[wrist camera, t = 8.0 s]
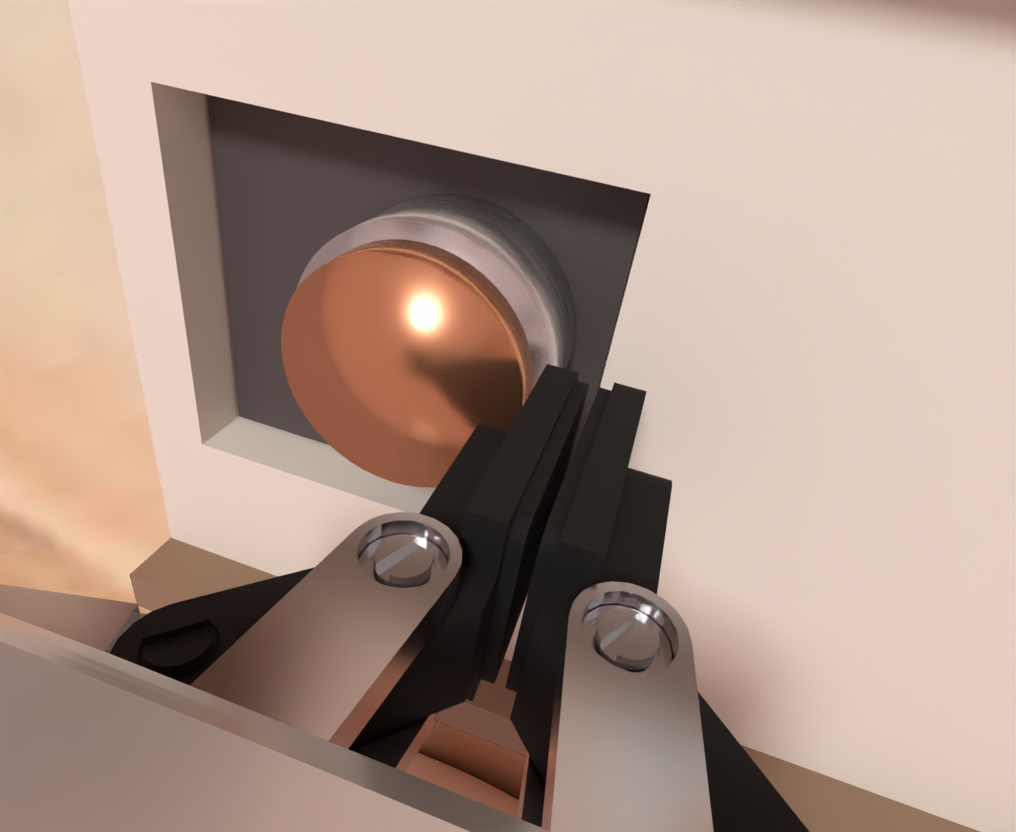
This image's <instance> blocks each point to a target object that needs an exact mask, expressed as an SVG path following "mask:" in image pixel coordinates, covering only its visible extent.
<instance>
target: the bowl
mask: <svg viewBox="0 0 1016 832" xmlns="http://www.w3.org/2000/svg"><path fill="white" fill-rule="evenodd" d="M405 773H408V774H410V775H413V776H415V777H418V778H420V779H423V780H425V781H428V782H430V783H433V784H435V785H437V786H440V787H442V788H445V789H447V790H450V791H452V792H455V793H457V794H460V795H462V796H465V797H467V798H469V799H472V800H474V801H477V802H479V803H482V804H484V805H487V806H489V807H492V808H494V809H496V810H499V811H501V812H504V813H506V814H509V815H511V816H514V817H516V818H517V815H518V807H519V800H518V799H516V798H514V797H512V796H510V795H509V794H507V793H505V792H503V791H501V790H499V789H497V788H495V787H493V786H492V785H490V784H488V783H486V782H484V781H482V780H480V779H478V778H476V777H473V776H471V775H469V774H467V773H465V772H463V771H461V770H459V769H456V768H454V767H452V766H449V765H447V764H445V763H442V762H440V761H438V760H435V759H433V758H430V757H428V756H425V755H423V754H420V753H417V755H416V756H415V758H414V759H413V761H412V762H411V764H410V766H409V767H408V769H407V770H406V772H405Z"/></svg>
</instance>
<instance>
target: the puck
mask: <svg viewBox="0 0 1016 832" xmlns="http://www.w3.org/2000/svg"><path fill="white" fill-rule="evenodd" d="M575 338H576V311H575V304H574V298H573V295H572V292H571V288H570V285H569V282H568V280H567V277H566V275H565V273H564V270H563V268H562V266H561V265H560V263H559V261H558V260H557V258H556V256H555V254H554V253H553V252H552V250H551V249H550V248H549V246H548V245H547V244H546V242H545V241H544V240H543V239H542V238H541V237H540V236H539V235H538V234H537V233H536V232H535V231H534V230H533V229H532V228H531V227H530V226H529V225H528V224H527V223H525V222H524V221H523V220H522V219H520V218H519V217H518V216H516V215H515V214H513V213H511V212H510V211H508V210H506V209H505V208H503V207H501V206H499V205H497V204H494V203H492V202H490V201H487V200H485V199H481V198H478V197H474V196H471V195H465V194H458V193H433V194H427V195H421V196H418V197H415V198H412V199H409V200H406V201H404V202H402V203H400V204H398V205H396V206H394V207H392V208H390V209H388V210H386V211H384V212H382V213H380V214H378V215H376V216H374V217H372V218H370V219H368V220H367V221H365V222H363V223H361V224H359V225H357V226H355V227H353V228H351V229H349V230H347V231H345V232H343V233H341V234H339V235H337V236H336V237H334V238H333V239H331V240H330V241H329V242H327V243H326V244H325V245H324V246H323V247H322V248H321V249H320V250H319V251H318V252H317V253H316V254H315V255H314V256H313V257H312V259H311V260H310V262H309V263H308V265H307V266H306V268H305V269H304V272H303V274H302V276H301V278H300V280H299V282H298V286H297V289H296V291H295V293H294V294H293V296H292V298H291V300H290V302H289V304H288V306H287V309H286V312H285V316H284V319H283V324H282V332H281V352H282V360H283V366H284V370H285V373H286V377H287V381H288V383H289V386H290V388H291V391H292V394H293V395H294V397H295V399H296V401H297V403H298V405H299V407H300V409H301V410H302V412H303V413H304V415H305V417H306V418H307V420H308V421H309V422H310V424H311V425H312V426H313V427H314V429H315V430H316V431H317V433H318V434H319V435H320V436H321V437H322V438H323V439H324V440H325V441H326V442H327V443H328V444H329V445H330V446H331V447H332V448H334V449H335V450H336V451H337V452H338V453H339V454H341V455H342V456H343V457H345V458H346V459H347V460H349V461H350V462H352V463H353V464H355V465H356V466H358V467H360V468H361V469H363V470H365V471H367V472H369V473H371V474H373V475H375V476H377V477H380V478H383V479H385V480H388V481H391V482H394V483H398V484H403V485H407V486H414V487H429V488H435V487H437V486H438V484H439V483H440V481H441V480H442V478H443V477H444V475H445V474H446V472H447V471H448V469H449V467H450V466H451V464H452V463H453V461H454V460H455V458H456V457H457V455H458V454H459V452H460V451H461V449H462V448H463V446H464V445H465V443H466V442H467V440H468V439H469V437H470V436H471V434H472V433H473V431H474V430H475V428H476V427H477V426H478V425H479V424H485V425H488V426H491V427H495V428H498V429H501V430H505V431H508V432H509V430H510V428H511V426H512V424H513V423H514V421H515V419H516V417H517V416H518V414H519V412H520V410H521V409H522V407H523V405H524V403H525V402H526V400H527V398H528V396H529V395H530V393H531V391H532V389H533V388H534V386H535V384H536V382H537V381H538V379H539V377H540V375H541V374H542V372H543V370H544V368H545V367H546V365H547V364H550V365H553V366H557V367H561V368H564V369H567V367H568V365H569V363H570V360H571V357H572V353H573V350H574V346H575Z"/></svg>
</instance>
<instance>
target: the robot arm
mask: <svg viewBox="0 0 1016 832" xmlns="http://www.w3.org/2000/svg"><path fill="white" fill-rule="evenodd" d="M578 379H579V372H575V371H571V370H568V369H564V368H561V367H557V366H553V365H550V364H547V365H546V367H545V368H544V370H543V372H542V374H541V375H540V377H539V379H538V381H537V382H536V384H535V386H534V388H533V389H532V391H531V393H530V395H529V396H528V398H527V400H526V402H525V403H524V405H523V407H522V409H521V410H520V412H519V414H518V416H517V417H516V419H515V421H514V423H513V424H512V426H511V428H510V430H509V432H508V431H505V430H501V429H498V428H495V427H491V426H488V425H485V424H479V425H478V426H477V427H476V428H475V430H474V431H473V433H472V434H471V436H470V437H469V439H468V440H467V442H466V443H465V445H464V446H463V448H462V449H461V451H460V452H459V454H458V455H457V457H456V458H455V460H454V461H453V463H452V464H451V466H450V467H449V469H448V471H447V472H446V474H445V475H444V477H443V478H442V480H441V481H440V483H439V484H438V486H437V487H436V489H435V490H434V492H433V493H432V495H431V496H430V498H429V499H428V501H427V502H426V504H425V505H424V507H423V508H422V510H421V512H420V513H408V512H397V513H388V514H383V515H380V516H377V517H375V518H372V519H369V520H368V521H366V522H365V523H363V524H362V525H360V526H359V527H357V528H356V529H355V530H354V531H353V532H352V533H351V534H350V535H349V536H347V537H346V538H345V539H344V540H343V541H342V542H341V543H340V544H339V545H338V546H337V547H336V548H335V549H334V550H333V551H332V552H331V553H329V554H328V555H327V556H326V557H325V558H324V559H323V560H322V561H321V562H320V563H319V564H318V565H317V566H316V567H314V568H310V569H306V570H302V571H298V572H294V573H290V574H286V575H282V576H278V577H274V578H270V579H266V580H263V581H259V582H255V583H251V584H247V585H243V586H239V587H235V588H231V589H227V590H223V591H219V592H215V593H211V594H208V595H204V596H200V597H196V598H192V599H188V600H184V601H180V602H176V603H173V604H170V605H167V606H165V607H162V608H159V609H156V610H154V611H152V612H150V613H149V614H143V613H140V612H139V608H138V604H135V603H128V602H121V601H114V600H107V599H100V598H92V597H85V596H78V595H71V594H64V593H57V592H50V591H43V590H36V589H29V588H22V587H15V586H8V585H1V584H0V832H809V830H808V829H807V828H806V827H805V825H804V824H803V823H802V822H801V820H800V819H799V818H798V817H797V815H796V814H795V813H794V811H793V810H792V809H791V808H790V806H789V805H788V804H787V803H786V801H785V800H784V799H783V798H782V796H781V795H780V794H779V793H778V791H777V790H776V789H775V788H774V786H773V785H772V784H771V783H770V781H769V780H768V779H767V777H766V776H765V775H764V774H763V772H762V771H761V770H760V769H759V767H758V766H757V765H756V764H755V762H754V761H753V760H752V759H751V757H750V756H749V755H748V754H747V752H746V751H745V750H744V749H743V747H742V746H741V745H740V743H739V742H738V741H737V740H736V738H735V737H734V736H733V735H732V733H731V732H730V731H729V730H728V728H727V727H726V726H725V725H724V723H723V722H722V721H721V720H720V718H719V717H718V716H717V715H716V713H715V712H714V711H713V709H712V708H711V707H710V706H709V704H708V703H707V702H706V701H705V699H704V698H703V697H702V696H701V694H700V693H699V692H698V690H697V681H696V673H695V664H694V655H693V646H692V641H691V637H690V634H689V631H688V627H687V626H686V624H685V622H684V621H683V619H682V618H681V616H680V615H679V613H678V612H677V611H676V610H675V609H674V608H673V607H672V606H671V605H670V604H669V603H668V602H667V601H666V600H665V599H663V598H662V597H660V596H658V595H657V591H658V584H659V577H660V569H661V562H662V555H663V548H664V541H665V534H666V526H667V519H668V512H669V505H670V498H671V490H672V480H668V479H665V478H662V477H658V476H655V475H652V474H648V473H645V472H642V471H638V470H635V469H632V468H628V465H629V461H630V457H631V453H632V449H633V445H634V441H635V437H636V433H637V429H638V425H639V421H640V417H641V413H642V409H643V405H644V401H645V397H646V392H647V391H644V390H640V389H636V388H633V387H629V386H626V385H622V384H618V383H615V382H614V385H613V388H612V391H611V390H608V389H604V388H600V387H599V389H598V391H597V394H596V397H595V399H594V402H593V404H592V407H591V410H590V412H589V415H588V417H587V420H586V423H585V425H584V428H583V430H582V433H581V436H580V438H579V441H578V443H577V446H576V449H575V451H574V454H573V456H572V453H573V449H574V445H575V441H576V437H577V433H578V429H579V425H580V421H581V417H582V413H583V409H584V405H585V401H586V397H587V393H588V389H589V384H586V383H582V382H579V381H578ZM571 457H572V459H571ZM570 461H571V462H570ZM526 598H527V599H526ZM525 600H526V604H525V608H524V612H523V616H522V620H521V624H520V628H519V632H518V637H517V641H516V645H515V649H514V653H513V657H512V661H511V666H510V670H509V674H508V678H507V682H506V687H505V688H506V689H508V690H511V691H514V692H516V697H515V701H514V705H513V709H512V713H511V716H510V720H511V722H512V724H513V725H514V727H515V729H516V731H517V733H518V735H519V737H520V739H521V740H522V742H523V744H524V746H525V748H526V750H527V752H528V753H527V756H526V759H525V763H524V768H523V776H522V784H521V792H520V799H519V807H518V815H517V818H516V817H514V816H511V815H509V814H506V813H504V812H501V811H499V810H496V809H494V808H492V807H489V806H487V805H484V804H482V803H479V802H477V801H474V800H472V799H469V798H467V797H465V796H462V795H460V794H457V793H455V792H452V791H450V790H447V789H445V788H442V787H440V786H437V785H435V784H433V783H430V782H428V781H425V780H423V779H420V778H418V777H415V776H413V775H410V774H408V773H405V772H406V770H407V769H408V767H409V766H410V764H411V762H412V761H413V759H414V758H415V756H416V755H417V753H418V751H419V750H420V748H421V747H422V745H423V743H424V742H425V740H426V739H427V737H428V735H429V734H430V732H431V731H432V729H433V727H434V725H435V722H436V720H437V718H438V715H439V712H440V711H442V710H445V709H448V708H450V707H453V706H455V705H458V704H460V703H463V702H465V700H466V699H467V700H470V701H473V699H474V697H475V694H476V692H477V689H478V687H479V684H480V682H481V680H484V681H487V682H489V683H492V684H494V683H495V681H496V678H497V676H498V673H499V671H500V668H501V665H502V662H503V660H504V657H505V654H506V652H507V649H508V646H509V644H510V641H511V638H512V635H513V633H514V630H515V627H516V625H517V622H518V619H519V617H520V614H521V611H522V608H523V606H524V603H525Z"/></svg>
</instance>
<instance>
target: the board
mask: <svg viewBox="0 0 1016 832" xmlns="http://www.w3.org/2000/svg"><path fill="white" fill-rule="evenodd" d="M68 5H69V11H70V16H71V21H72V26H73V31H74V37H75V42H76V47H77V52H78V57H79V62H80V68H81V73H82V78H83V83H84V88H85V94H86V99H87V104H88V109H89V114H90V120H91V125H92V130H93V135H94V140H95V145H96V151H97V156H98V161H99V166H100V171H101V177H102V182H103V187H104V192H105V197H106V203H107V208H108V213H109V218H110V223H111V228H112V234H113V239H114V244H115V249H116V254H117V260H118V265H119V270H120V275H121V280H122V286H123V291H124V296H125V301H126V306H127V312H128V317H129V322H130V327H131V332H132V337H133V343H134V348H135V353H136V358H137V363H138V369H139V374H140V379H141V384H142V389H143V395H144V400H145V405H146V410H147V415H148V420H149V426H150V431H151V436H152V441H153V446H154V452H155V457H156V462H157V467H158V472H159V478H160V483H161V488H162V493H163V498H164V503H165V509H166V514H167V519H168V524H169V529H170V535H171V538H170V539H169V540H168V541H167V542H166V543H165V544H163V545H162V546H161V547H160V548H159V549H158V550H157V551H156V552H154V553H153V554H152V555H151V556H150V557H149V558H148V559H147V560H146V561H144V562H143V563H142V564H141V565H140V566H139V567H138V568H137V569H135V570H134V571H133V572H132V573H131V574H130V578H131V582H132V586H133V590H134V594H135V598H136V602H137V604H138V606H141V607H143V608H146V609H148V610H151V611H154V610H156V609H159V608H162V607H165V606H167V605H170V604H173V603H176V602H180V601H184V600H188V599H192V598H196V597H200V596H204V595H208V594H211V593H215V592H219V591H223V590H227V589H231V588H235V587H239V586H243V585H247V584H251V583H255V582H259V581H263V580H266V579H270V578H274V577H278V576H282V575H286V574H290V573H294V572H298V571H302V570H306V569H310V568H314V567H316V566H317V565H318V564H319V563H320V562H321V561H322V560H323V559H324V558H325V557H326V556H327V555H328V554H329V553H331V552H332V551H333V550H334V549H335V548H336V547H337V546H338V545H339V544H340V543H341V542H342V541H343V540H344V539H345V538H346V537H347V536H349V535H350V534H351V533H352V532H353V531H354V530H355V529H356V528H357V527H359V526H360V525H362V524H363V523H365V522H366V521H368V520H369V519H372V518H375V517H377V516H380V515H383V514H388V513H397V512H408V513H420V512H421V510H422V508H423V507H424V505H425V504H426V502H427V501H428V499H429V498H430V496H431V495H432V493H433V492H434V490H435V489H436V487H435V488H429V487H414V486H407V485H403V484H398V483H394V482H391V481H388V480H385V479H383V478H380V477H377V476H375V475H373V474H371V473H369V472H367V471H365V470H363V469H361V468H360V467H358V466H356V465H355V464H353V463H352V462H350V461H349V460H347V459H346V458H345V457H343V456H342V455H341V454H339V453H338V452H337V451H336V450H335V449H334V448H332V447H331V446H330V445H329V444H328V443H327V442H326V441H325V440H324V439H323V438H322V437H321V436H320V435H319V434H318V433H317V431H316V430H315V429H314V427H313V426H312V425H311V424H310V422H309V421H308V420H307V418H306V417H305V415H304V413H303V412H302V410H301V409H300V407H299V405H298V403H297V401H296V399H295V397H294V395H293V394H292V391H291V388H290V386H289V383H288V381H287V377H286V373H285V370H284V366H283V360H282V352H281V332H282V324H283V319H284V316H285V312H286V309H287V306H288V304H289V302H290V300H291V298H292V296H293V294H294V293H295V291H296V289H297V286H298V282H299V280H300V278H301V276H302V274H303V272H304V269H305V268H306V266H307V265H308V263H309V262H310V260H311V259H312V257H313V256H314V255H315V254H316V253H317V252H318V251H319V250H320V249H321V248H322V247H323V246H324V245H325V244H326V243H327V242H329V241H330V240H331V239H333V238H334V237H336V236H337V235H339V234H341V233H343V232H345V231H347V230H349V229H351V228H353V227H355V226H357V225H359V224H361V223H363V222H365V221H367V220H368V219H370V218H372V217H374V216H376V215H378V214H380V213H382V212H384V211H386V210H388V209H390V208H392V207H394V206H396V205H398V204H400V203H402V202H404V201H406V200H409V199H412V198H415V197H418V196H421V195H427V194H433V193H458V194H465V195H471V196H474V197H478V198H481V199H485V200H487V201H490V202H492V203H494V204H497V205H499V206H501V207H503V208H505V209H506V210H508V211H510V212H511V213H513V214H515V215H516V216H518V217H519V218H520V219H522V220H523V221H524V222H525V223H527V224H528V225H529V226H530V227H531V228H532V229H533V230H534V231H535V232H536V233H537V234H538V235H539V236H540V237H541V238H542V239H543V240H544V241H545V242H546V244H547V245H548V246H549V248H550V249H551V250H552V252H553V253H554V254H555V256H556V258H557V260H558V261H559V263H560V265H561V266H562V268H563V270H564V273H565V275H566V277H567V280H568V282H569V285H570V288H571V292H572V295H573V298H574V304H575V311H576V338H575V346H574V350H573V353H572V357H571V360H570V363H569V365H568V367H567V369H568V370H571V371H575V372H579V379H578V381H579V382H582V383H586V384H589V389H588V393H587V397H586V401H585V405H584V409H583V413H582V417H581V421H580V425H579V429H578V433H577V437H576V441H575V445H574V449H573V453H572V456H573V454H574V451H575V449H576V446H577V443H578V441H579V438H580V436H581V433H582V430H583V428H584V425H585V423H586V420H587V417H588V415H589V412H590V410H591V407H592V404H593V402H594V399H595V397H596V394H597V391H598V389H599V385H600V381H601V377H602V373H603V370H604V366H605V362H606V358H607V354H608V351H609V347H610V343H611V339H612V335H613V332H614V328H615V324H616V320H617V316H618V313H619V309H620V305H621V301H622V297H623V293H624V290H625V286H626V282H627V278H628V274H629V271H630V267H631V263H632V259H633V255H634V252H635V248H636V244H637V240H638V236H639V233H640V229H641V225H642V221H643V217H644V214H645V210H646V206H647V202H648V198H649V195H650V194H651V196H650V200H649V203H648V207H647V211H646V215H645V219H644V222H643V226H642V230H641V234H640V237H639V241H638V245H637V249H636V253H635V256H634V260H633V264H632V268H631V272H630V275H629V279H628V283H627V287H626V290H625V294H624V298H623V302H622V306H621V309H620V313H619V317H618V321H617V325H616V328H615V332H614V336H613V340H612V343H611V347H610V351H609V355H608V359H607V362H606V366H605V370H604V374H603V378H602V381H601V385H600V388H604V389H608V390H611V391H612V388H613V385H614V382H615V383H618V384H622V385H626V386H629V387H633V388H636V389H640V390H644V391H647V392H646V397H645V401H644V405H643V409H642V413H641V417H640V421H639V425H638V429H637V433H636V437H635V441H634V445H633V449H632V453H631V457H630V461H629V465H628V468H632V469H635V470H638V471H642V472H645V473H648V474H652V475H655V476H658V477H662V478H665V479H668V480H672V490H671V498H670V505H669V512H668V519H667V526H666V534H665V541H664V548H663V555H662V562H661V569H660V577H659V584H658V591H657V595H658V596H660V597H662V598H663V599H665V600H666V601H667V602H668V603H669V604H670V605H671V606H672V607H673V608H674V609H675V610H676V611H677V612H678V613H679V615H680V616H681V618H682V619H683V621H684V622H685V624H686V626H687V627H688V631H689V634H690V637H691V641H692V646H693V655H694V664H695V673H696V681H697V690H698V692H699V693H700V694H701V696H702V697H703V698H704V699H705V701H706V702H707V703H708V704H709V706H710V707H711V708H712V709H713V711H714V712H715V713H716V715H717V716H718V717H719V718H720V720H721V721H722V722H723V723H724V725H725V726H726V727H727V728H728V730H729V731H730V732H731V733H732V735H733V736H734V737H735V738H736V740H737V741H738V742H739V743H740V745H741V746H742V747H743V749H744V750H745V751H746V752H747V754H748V755H749V756H750V757H751V759H752V760H753V761H754V762H755V764H756V765H757V766H758V767H759V769H760V770H761V771H762V772H763V774H764V775H765V776H766V777H767V779H768V780H769V781H770V783H771V784H772V785H773V786H774V788H775V789H776V790H777V791H778V793H779V794H780V795H781V796H782V798H783V799H784V800H785V801H786V803H787V804H788V805H789V806H790V808H791V809H792V810H793V811H794V813H795V814H796V815H797V817H798V818H799V819H800V820H801V822H802V823H803V824H804V825H805V827H806V828H807V829H808V830H809V832H1016V0H68ZM571 459H572V457H571ZM570 462H571V461H570ZM526 599H527V598H526ZM525 604H526V600H525V603H524V606H523V608H522V611H521V614H520V617H519V619H518V622H517V625H516V627H515V630H514V633H513V635H512V638H511V641H510V644H509V646H508V649H507V652H506V654H505V657H504V660H503V662H502V665H501V668H500V671H499V673H498V676H497V678H496V681H495V683H494V684H492V683H489V682H487V681H484V680H481V682H480V684H479V687H478V689H477V692H476V694H475V697H474V699H473V701H470V700H467V699H466V700H465V702H463V703H460V704H458V705H455V706H453V707H450V708H448V709H445V710H442V711H440V712H439V715H438V718H437V720H436V721H437V722H440V723H442V724H445V725H447V726H450V727H452V728H455V729H458V730H460V731H463V732H465V733H468V734H471V735H473V736H476V737H478V738H481V739H483V740H486V741H489V742H491V743H494V744H496V745H499V746H501V747H504V748H507V749H509V750H512V751H514V752H517V753H519V754H522V755H525V756H527V753H528V752H527V750H526V748H525V746H524V744H523V742H522V740H521V739H520V737H519V735H518V733H517V731H516V729H515V727H514V725H513V724H512V722H511V720H510V716H511V713H512V709H513V705H514V701H515V697H516V692H514V691H511V690H508V689H506V688H505V687H506V682H507V678H508V674H509V670H510V666H511V661H512V657H513V653H514V649H515V645H516V641H517V637H518V632H519V628H520V624H521V620H522V616H523V612H524V608H525Z"/></svg>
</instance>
